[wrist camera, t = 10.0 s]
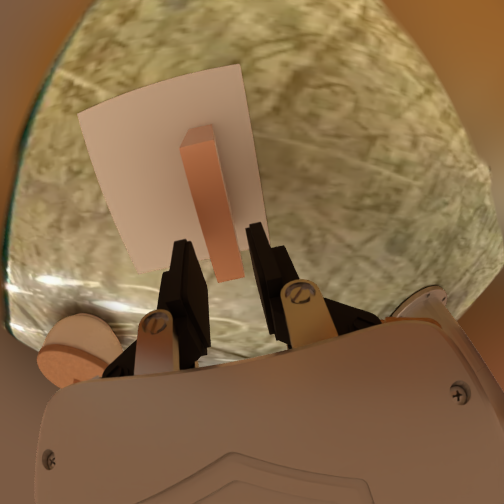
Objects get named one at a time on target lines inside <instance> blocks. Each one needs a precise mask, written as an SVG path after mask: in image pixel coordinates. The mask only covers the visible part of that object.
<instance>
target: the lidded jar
mask: <svg viewBox="0 0 504 504" xmlns="http://www.w3.org/2000/svg"><path fill="white" fill-rule="evenodd" d="M122 352H123V350H122V347H121V344H120V342H119V340H118V338H117V337H116V335H115V334H114V332H113V330H112V329H111V327H110V326H109V325H108V324H107V323H106V322H105V321H104V320H102V319H101V318H99V317H97V316H95V315H92V314H88V313H78V314H75V315H72V316H68V317H65V318H63V319H61V320H60V321H59V322H57V323H56V324H55V325H54V326H53V328H52V329H51V330H50V331H49V333H48V335H47V336H46V339H45V341H44V343H43V346H42V348H41V349H40V351H39V354H38V357H37V363H38V367H39V368H40V370H41V372H42V373H43V374H44V375H45V376H46V377H47V379H49V380H50V381H51V382H52V383H53V384H55V385H56V386H58V387H59V388H61V389H62V388H64V387H66V386H68V385H70V384H74V383H77V382H81V381H86V380H89V379H91V378H93V377H95V376H97V375H99V376H100V377H102V374H103V372H104V370H105V369H106V368H107V366H108V365H109V364H110V363H112V362H113V361H114V360H115V359H116V358H117V357H118V356H119V355H120V354H121V353H122Z"/></svg>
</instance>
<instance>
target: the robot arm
mask: <svg viewBox="0 0 504 504" xmlns="http://www.w3.org/2000/svg"><path fill="white" fill-rule="evenodd" d="M245 231H246V236H247V240H248V245H249V250H250V255H251V260H252V265H253V270H254V275H255V279H256V283H257V287H258V291H259V295H260V299H261V303H262V307H263V310H264V314H265V318H266V322H267V326H268V330H269V334H270V335H271V334H275V337H276V341H278V340H279V341H281V342H284V343H286V344H287V349H288V350H285V351H280V352H276V353H272V354H267V355H263V356H258V357H253V358H249V359H244V360H239V361H234V362H228V363H223V364H217V365H211V366H205V367H199V364H198V361H197V360H198V359H199V358H200V357H201V356H204V355H207V348H208V347H211V340H210V324H209V305H208V289H207V285H206V282H205V279H204V276H203V273H202V271H201V268H200V265H199V262H198V259H197V256H196V253H195V250H194V247H193V244H192V242H191V241H187V240H186V239H182V240H178V241H174V244H173V250H172V257H171V263H170V270H169V271H166V272H163V274H162V279H161V285H160V292H159V298H158V305H157V310H154V311H151V312H149V313H148V314H146V315H145V316H144V317H143V318H142V319H141V321H140V323H139V326H138V335H137V340H136V341H135V342H133V343H132V344H131V345H130V346H129V347H128V348H127V349H126V350H125V351H124V352H122V353H121V354H120V355H119V356H118V357H117V358H116V359H115V360H114V361H113V362H112V363H110V364H109V365H108V366H107V368H106V369H105V370H104V372H103V374H102V377H100V376H99V375H97V376H95V377H93V378H91V379H89V380H86V381H81V382H77V383H74V384H70V385H68V386H66V387H64V388H62V389H60V390H59V391H57V392H56V393H55V394H53V396H52V397H51V398H50V400H49V401H48V404H47V406H46V409H45V412H44V415H43V419H42V423H41V427H40V433H39V439H38V445H37V456H36V469H35V504H504V392H503V390H502V389H501V387H500V386H499V384H498V383H497V381H496V379H495V378H494V376H493V375H492V373H491V371H490V370H489V368H488V367H487V365H486V363H485V362H484V360H483V359H482V357H481V356H480V354H479V353H478V351H477V350H476V348H475V347H474V345H473V344H472V342H471V341H470V339H469V338H468V337H467V335H466V334H465V332H464V331H463V330H462V328H461V327H460V326H459V324H458V323H457V321H456V320H455V319H454V317H453V316H452V315H451V313H450V312H449V311H448V309H447V308H446V307H445V306H446V303H447V294H446V292H445V291H444V290H443V288H441V287H440V286H431V287H427V288H425V289H423V290H421V291H419V292H417V293H416V294H414V295H412V296H411V297H410V298H409V299H407V300H406V301H405V302H404V303H403V304H402V305H401V306H400V307H399V308H398V309H397V310H396V311H395V312H394V314H393V315H392V316H391V317H385V320H380V319H379V318H378V317H377V316H376V315H374V314H372V313H370V312H367V311H363V310H360V309H357V308H354V307H351V306H348V305H345V304H342V303H339V302H336V301H333V300H330V299H327V298H324V297H323V296H322V294H321V291H320V289H319V287H318V286H317V285H316V284H315V283H314V282H312V281H309V280H304V279H299V277H298V274H297V272H296V270H295V268H294V266H293V263H292V261H291V259H290V257H289V255H288V252H287V250H286V248H285V246H284V245H283V246H278V247H274V248H271V247H270V244H269V241H268V239H267V236H266V234H265V231H264V228H263V226H262V223H261V222H257V223H252V224H249V227H248V228H245Z"/></svg>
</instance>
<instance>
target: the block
mask: <svg viewBox="0 0 504 504" xmlns="http://www.w3.org/2000/svg"><path fill="white" fill-rule="evenodd" d="M179 150H180V154H181V158H182V162H183V165H184V169H185V173H186V177H187V180H188V184H189V188H190V191H191V195H192V198H193V202H194V205H195V209H196V212H197V216H198V219H199V223H200V226H201V229H202V233H203V236H204V239H205V243H206V246H207V249H208V253H209V256H210V259H211V262H212V265H213V269H214V272H215V275H216V278H217V281H218V283H220V282H224V281H229V280H233V279H238V278H242V277H245V276H244V273H245V272H244V267H243V263H242V258H241V253H240V248H239V244H238V239H237V234H236V229H235V224H234V220H233V215H232V211H231V206H230V202H229V197H228V193H227V188H226V184H225V179H224V175H223V170H222V166H221V161H220V156H219V152H218V147H217V142H216V138H215V133H214V128H213V127H212V124H209V125H205V126H201V127H196V128H192V129H188V131H187V133H186V135H185V137H184V139H183V141H182V143H181V145H180V147H179Z"/></svg>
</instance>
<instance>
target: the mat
mask: <svg viewBox="0 0 504 504" xmlns="http://www.w3.org/2000/svg"><path fill="white" fill-rule="evenodd" d="M77 115H78V118H79V122H80V126H81V129H82V133H83V136H84V139H85V143H86V146H87V149H88V152H89V155H90V158H91V161H92V164H93V167H94V170H95V173H96V176H97V179H98V181H99V184H100V187H101V190H102V192H103V195H104V197H105V200H106V203H107V205H108V208H109V210H110V212H111V215H112V217H113V220H114V222H115V224H116V227H117V229H118V231H119V234H120V236H121V238H122V240H123V243H124V245H125V247H126V249H127V251H128V253H129V256H130V258H131V260H132V262H133V264H134V266H135V268H136V270H137V272H138V274H141V273H146V272H150V271H155V270H159V269H164V268H168V267H170V263H171V257H172V250H173V244H174V241H178V240H182V239H186V240H187V241H191V242H192V244H193V247H194V250H195V253H196V256H197V259H198V261H199V260H203V259H208V258H210V256H209V253H208V249H207V246H206V243H205V239H204V236H203V233H202V229H201V226H200V223H199V219H198V216H197V212H196V209H195V205H194V202H193V198H192V195H191V191H190V188H189V184H188V180H187V177H186V173H185V169H184V165H183V162H182V158H181V154H180V150H179V147H180V145H181V143H182V141H183V139H184V137H185V135H186V133H187V131H188V129H192V128H196V127H201V126H205V125H209V124H212V127H213V128H214V133H215V138H216V142H217V147H218V152H219V156H220V161H221V166H222V170H223V175H224V179H225V184H226V188H227V193H228V197H229V202H230V206H231V211H232V215H233V220H234V224H235V229H236V234H237V239H238V244H239V248H240V251H244V250H248V249H249V245H248V240H247V236H246V231H245V228H248V227H249V224H252V223H257V222H261V223H262V226H263V228H264V231H265V234H266V236H267V239H268V241H269V244H270V239H269V233H268V226H267V220H266V213H265V207H264V200H263V194H262V188H261V182H260V176H259V170H258V163H257V157H256V152H255V146H254V140H253V134H252V128H251V122H250V117H249V111H248V106H247V100H246V94H245V89H244V84H243V78H242V73H241V68H240V64H235V65H229V66H223V67H218V68H213V69H208V70H203V71H199V72H195V73H190V74H186V75H182V76H179V77H175V78H171V79H168V80H164V81H161V82H157V83H154V84H151V85H148V86H145V87H142V88H139V89H136V90H133V91H130V92H128V93H125V94H122V95H120V96H117V97H115V98H112V99H110V100H107V101H105V102H102V103H100V104H98V105H95V106H93V107H91V108H89V109H87V110H84V111H82V112H80V113H78V114H77Z"/></svg>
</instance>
